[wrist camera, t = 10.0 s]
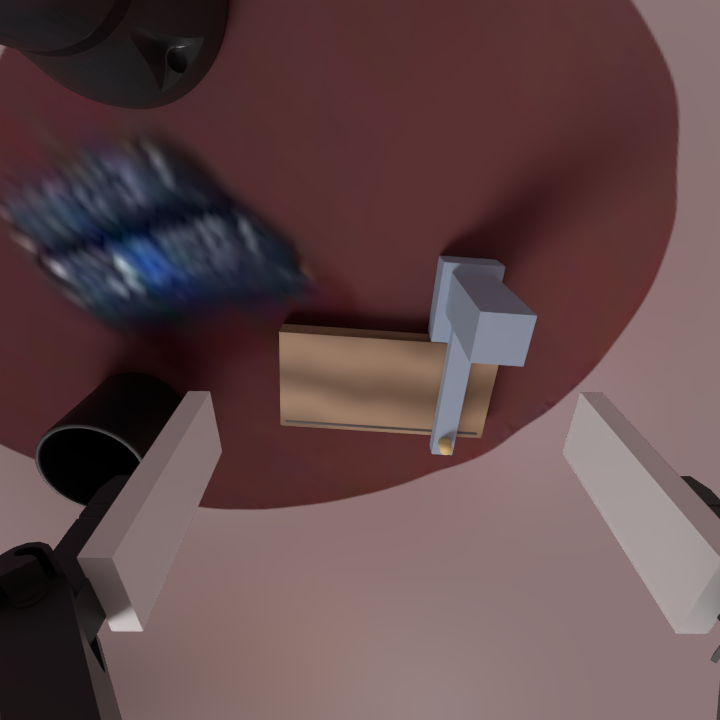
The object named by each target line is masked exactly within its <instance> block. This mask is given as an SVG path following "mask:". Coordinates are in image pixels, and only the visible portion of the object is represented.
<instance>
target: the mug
mask: <svg viewBox="0 0 720 720" xmlns="http://www.w3.org/2000/svg"><path fill="white" fill-rule="evenodd" d="M181 401H182V400H181V399H180V397H179V396H178V395H177V394H176V393H175V392H174V391H173V390H172V389H171V388H170V387H169V386H168V385H166V384H165V383H163V382H161V381H159V380H158V379H156V378H153V377H150V376H147V375H143V374H136V373H127V374H121V375H116V376H113V377H111V378H109V379H107V380H106V381H104V382H103V383H102V384H101V385H100V386H99V387H97V388H96V389H95V390H94V391H93V392H92V393H91V394H89V395H88V396H87V397H86V398H85V399H84V400H83V401H81V402H80V403H79V404H78V405H77V406H76V407H75V408H73V409H72V410H71V411H70V412H69V413H68V414H67V415H65V416H64V417H63V418H62V419H61V420H60V421H59V422H57V423H56V424H55V425H54V426H53V427H52V428H51V429H49V430H48V431H47V432H46V433H45V434H44V435H43V436H42V437H41V439H40V440H39V442H38V444H37V446H36V450H35V462H36V466H37V469H38V471H39V473H40V475H41V477H42V478H43V479H44V481H45V482H46V483H47V484H48V485H49V487H50V488H51V489H53V490H54V491H55V492H56V493H58V494H59V495H60V496H62V497H63V498H65V499H67V500H68V501H70V502H72V503H75V504H77V505H79V506H82V507H86V506H88V503H89V502H90V500H91V499H92V498H93V496H94V495H95V494H96V492H97V491H98V490H99V488H100V487H102V486H103V485H104V484H106V483H107V482H108V481H109V480H111V479H112V478H113V477H114V476H116V475H132V474H133V473H134V471H135V470H136V468H137V467H138V465H139V464H140V462H141V461H142V459H143V458H144V456H145V455H146V454H147V452H148V451H149V449H150V448H151V446H152V445H153V443H154V442H155V440H156V439H157V437H158V436H159V434H160V433H161V431H162V430H163V428H164V427H165V425H166V424H167V422H168V421H169V419H170V418H171V416H172V415H173V413H174V412H175V410H176V409H177V407H178V406H179V404H180V403H181Z"/></svg>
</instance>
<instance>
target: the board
mask: <svg viewBox="0 0 720 720" xmlns="http://www.w3.org/2000/svg"><path fill="white" fill-rule="evenodd" d="M447 344H448V343H444V342H431V339H430V336H429V334H423V333H408V332H394V331H380V330H365V329H351V328H337V327H322V326H308V325H294V324H283V325H282V327H281V329H280V332H279V347H280V409H281V425H285V426H301V427H316V428H332V429H347V430H363V431H378V432H393V433H409V434H424V435H431V434H432V429H433V423H434V417H435V412H436V406H437V401H438V395H439V389H440V384H441V378H442V373H443V367H444V361H445V356H446V350H447ZM497 369H498V365H495V364H480V363H471V367H470V372H469V377H468V381H467V386H466V391H465V396H464V400H463V405H462V410H461V415H460V419H459V424H458V429H457V434H456V437H471V438H481V435H482V431H483V427H484V423H485V419H486V415H487V411H488V407H489V402H490V398H491V394H492V390H493V386H494V382H495V378H496V374H497Z"/></svg>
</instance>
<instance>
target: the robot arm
mask: <svg viewBox="0 0 720 720" xmlns="http://www.w3.org/2000/svg"><path fill="white" fill-rule="evenodd" d="M227 1H228V0H0V44H1V45H4V46H8V47H11V48H15V49H17V50H18V51H19V52H20V53H22V54H23V55H24V56H25V57H27V58H28V59H29V60H30V61H32V62H33V63H34V64H35V65H37V66H38V67H39V68H40V69H41V70H42V71H44V72H45V73H46V74H47V75H49V76H50V77H51V78H53V79H54V80H55V81H57V82H58V83H60V84H61V85H63V86H64V87H66V88H68V89H69V90H71V91H73V92H75V93H77V94H79V95H81V96H84V97H86V98H88V99H91V100H94V101H96V102H100V103H103V104H108V105H113V106H118V107H123V108H131V109H149V108H156V107H160V106H163V105H166V104H169V103H172V102H174V101H176V100H178V99H179V98H181V97H183V96H184V95H186V94H187V93H188V92H190V91H191V90H192V89H193V88H194V87H195V86H196V85H197V84H198V83H199V82H200V81H201V80H202V78H203V77H204V76H205V74H206V73H207V72H208V70H209V68H210V67H211V65H212V63H213V61H214V59H215V57H216V55H217V53H218V50H219V47H220V44H221V41H222V38H223V33H224V29H225V23H226V16H227ZM221 453H222V449H221V444H220V439H219V434H218V429H217V424H216V419H215V414H214V409H213V404H212V399H211V394H210V391H188V392H187V394H186V395H185V397H184V398H183V400H182V401H181V403H180V404H179V406H178V407H177V409H176V410H175V412H174V413H173V415H172V416H171V418H170V419H169V421H168V422H167V424H166V425H165V427H164V428H163V430H162V431H161V433H160V434H159V436H158V437H157V439H156V440H155V442H154V443H153V445H152V446H151V448H150V449H149V451H148V452H147V454H146V455H145V456H144V458H143V459H142V461H141V462H140V464H139V465H138V467H137V468H136V470H135V471H134V473H133V474H132V475H116V476H114V477H113V478H112V479H111V480H109V481H108V482H107V483H106V484H104V485H103V486H102V487H100V488H99V490H98V491H97V492H96V494H95V495H94V496H93V498H92V499H91V500H90V502H89V503H88V506H86V507H85V509H84V510H83V511H82V513H81V514H80V515H79V519H77V520H76V521H75V522H74V523H73V525H72V526H71V527H70V529H69V530H68V532H67V533H66V534H65V536H64V537H63V538H62V540H61V541H60V542H59V544H58V545H57V546H56V548H55V549H54V551H53V550H52V548H51V547H50V546H49V545H48V544H45V543H42V542H33V543H26V544H23V545H20V546H17V547H14V548H12V549H10V550H8V551H7V552H5V553H3V554H1V555H0V720H122V718H121V714H120V711H119V708H118V704H117V700H116V697H115V693H114V689H113V686H112V682H111V679H110V675H109V672H108V668H107V664H106V661H105V657H104V653H103V650H102V646H101V643H100V640H99V638H98V636H97V633H98V631H99V629H100V627H101V625H102V623H103V621H104V620H105V618H106V619H107V621H108V624H109V625H110V628H111V629H112V631H143V630H144V628H145V626H146V624H147V621H148V619H149V617H150V614H151V612H152V610H153V608H154V605H155V603H156V601H157V599H158V596H159V594H160V592H161V590H162V587H163V585H164V583H165V580H166V578H167V576H168V573H169V571H170V569H171V567H172V564H173V562H174V560H175V557H176V555H177V553H178V551H179V548H180V546H181V544H182V541H183V539H184V537H185V535H186V532H187V530H188V528H189V525H190V523H191V521H192V519H193V517H194V514H195V512H196V510H197V507H198V505H199V503H200V501H201V498H202V496H203V494H204V491H205V489H206V487H207V485H208V482H209V480H210V478H211V475H212V473H213V471H214V469H215V466H216V464H217V462H218V459H219V457H220V455H221ZM563 454H564V456H565V457H566V459H567V461H568V462H569V464H570V465H571V467H572V469H573V470H574V472H575V473H576V475H577V477H578V478H579V480H580V481H581V483H582V484H583V486H584V488H585V489H586V491H587V492H588V494H589V496H590V497H591V499H592V500H593V502H594V503H595V505H596V507H597V508H598V510H599V511H600V513H601V515H602V516H603V518H604V519H605V521H606V523H607V524H608V526H609V527H610V529H611V531H612V532H613V534H614V535H615V537H616V539H617V540H618V542H619V543H620V545H621V547H622V548H623V550H624V551H625V553H626V554H627V556H628V558H629V559H630V561H631V562H632V564H633V565H634V567H635V569H636V570H637V572H638V574H639V575H640V577H641V578H642V580H643V581H644V583H645V585H646V586H647V588H648V589H649V591H650V592H651V594H652V595H653V597H654V599H655V601H656V602H657V604H658V605H659V607H660V608H661V610H662V612H663V613H664V615H665V616H666V618H667V620H668V621H669V623H670V624H671V626H672V627H673V629H674V631H675V632H676V634H708V632H709V631H710V629H711V628H712V626H713V625H714V624H715V622H716V621H717V619H719V621H720V499H719V498H718V497H717V496H716V495H715V494H714V493H713V492H712V491H711V490H710V489H709V488H707V487H706V486H704V485H703V484H701V483H700V482H698V481H697V480H695V479H694V478H692V477H690V476H679V475H678V474H677V473H676V471H674V469H673V468H672V467H671V466H670V465H669V464H668V463H667V462H666V461H665V460H664V459H663V457H662V456H661V455H660V454H659V453H658V452H657V451H656V450H655V449H654V448H653V447H652V446H651V445H650V443H649V442H648V441H647V440H646V439H645V438H644V437H643V436H642V435H641V434H640V433H639V432H638V430H637V429H636V428H635V427H634V426H633V425H632V424H631V423H630V422H629V421H628V420H627V419H626V418H625V417H624V415H623V414H622V413H621V412H620V411H619V410H618V409H617V408H616V407H615V406H614V405H613V404H612V403H611V401H610V400H609V399H608V398H607V397H606V396H605V395H604V394H603V393H602V392H601V393H598V392H597V393H595V392H583V393H582V392H581V393H580V396H579V399H578V403H577V406H576V410H575V413H574V416H573V419H572V423H571V426H570V429H569V433H568V436H567V440H566V443H565V446H564V450H563ZM719 659H720V646H719V647H718V648H717V650H716V651H715V652H714V654H713V656H712V658H711V661H713V662H714V663H717V661H718V660H719ZM717 720H720V688H719V699H718V710H717Z"/></svg>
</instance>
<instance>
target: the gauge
mask: <svg viewBox="0 0 720 720" xmlns="http://www.w3.org/2000/svg"><path fill="white" fill-rule="evenodd" d="M504 271H505V266H504V265H503V264H502V263H500V262H499V261H498V260H495V259H481V258H467V257H454V256H440V255H439V260H438V266H437V273H436V279H435V286H434V292H433V299H432V305H431V312H430V319H429V325H428V333H429V336H430V339H431V342H444V343H448V344H447V350H446V356H445V361H444V367H443V373H442V378H441V384H440V389H439V395H438V401H437V406H436V412H435V417H434V423H433V429H432V434H431V440H430V449H431V453H432V454H442V455H452V453H453V448H454V443H455V438H456V434H457V429H458V424H459V419H460V415H461V410H462V405H463V400H464V396H465V391H466V386H467V381H468V377H469V372H470V367H471V363H480V364H495V365H509V366H524V362H525V358H526V355H527V351H528V347H529V344H530V340H531V336H532V333H533V329H534V325H535V322H536V318H537V315H536V314H535V313H534V312H533V311H532V310H531V309H530V308H529V307H527V306H526V305H525V304H524V303H523V302H522V301H521V300H520V299H519V298H518V297H517V296H516V295H515V294H514V293H513V292H512V291H511V290H509V289H508V288H507V287H506V286H505V285H504V284H503V283H502V280H503V276H504Z"/></svg>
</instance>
